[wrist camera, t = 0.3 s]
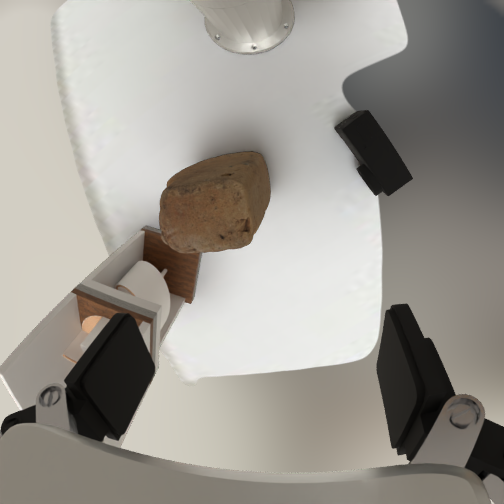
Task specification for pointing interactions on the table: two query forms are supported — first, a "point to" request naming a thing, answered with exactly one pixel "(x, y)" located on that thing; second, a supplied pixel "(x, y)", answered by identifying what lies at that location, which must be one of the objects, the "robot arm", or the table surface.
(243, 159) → the brown rounded lump
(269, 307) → the table surface
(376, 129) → the digital camera
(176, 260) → the toilet paper holder
